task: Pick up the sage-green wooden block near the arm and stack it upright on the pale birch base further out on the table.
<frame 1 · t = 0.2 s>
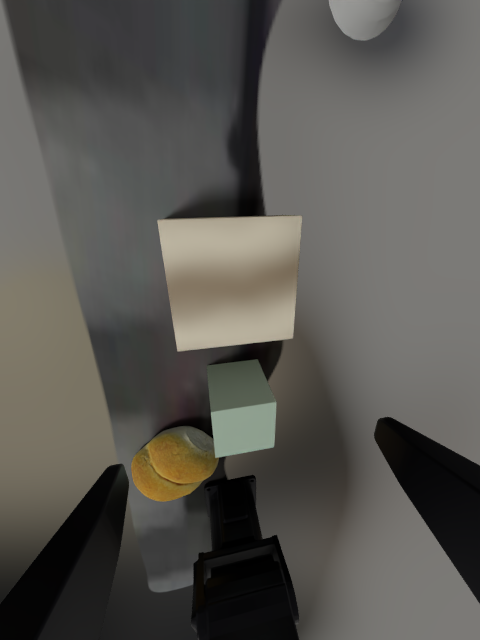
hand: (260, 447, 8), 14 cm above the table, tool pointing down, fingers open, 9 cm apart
green block: (233, 382, 24), on the table
bread roll: (177, 449, 27), on the table
birch base: (228, 276, 20), on the table
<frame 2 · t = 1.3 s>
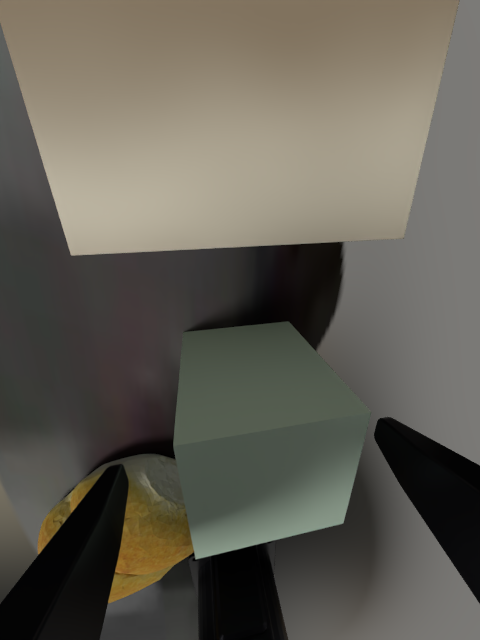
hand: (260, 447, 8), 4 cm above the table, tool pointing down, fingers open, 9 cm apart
green block: (239, 370, 12), on the table
bread roll: (138, 494, 15), on the table
birch base: (229, 89, 8), on the table
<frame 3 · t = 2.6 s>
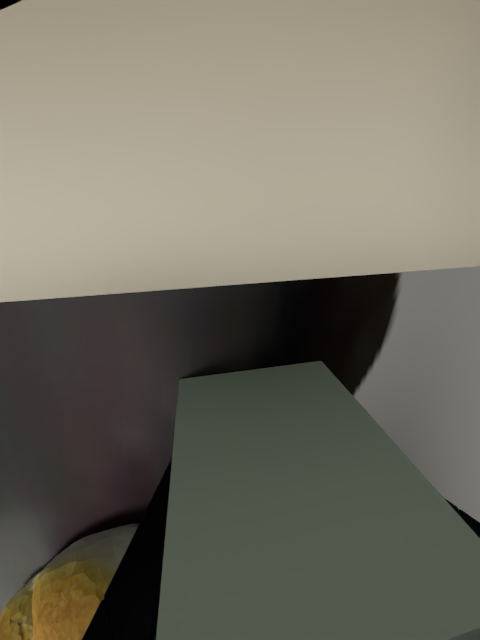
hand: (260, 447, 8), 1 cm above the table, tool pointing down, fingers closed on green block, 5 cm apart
green block: (253, 423, 9), on the table, touching gripper
bread roll: (125, 563, 12), on the table
birch base: (251, 18, 5), on the table
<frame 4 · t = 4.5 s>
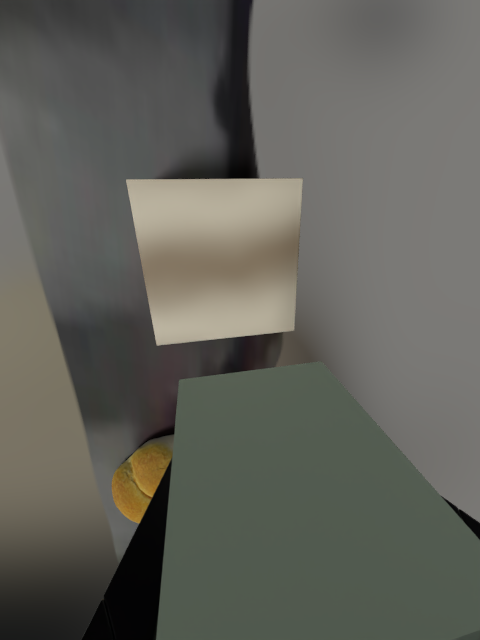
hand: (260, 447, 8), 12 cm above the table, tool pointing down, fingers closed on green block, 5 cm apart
green block: (253, 424, 9), point 11 cm above the table, touching gripper
bread roll: (166, 462, 24), on the table
birch base: (218, 259, 17), on the table
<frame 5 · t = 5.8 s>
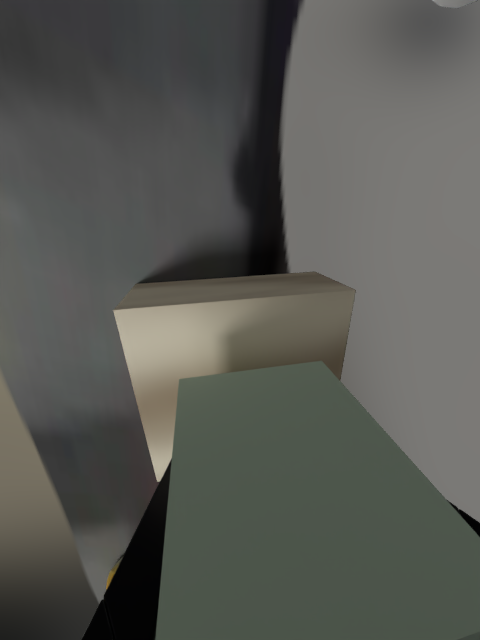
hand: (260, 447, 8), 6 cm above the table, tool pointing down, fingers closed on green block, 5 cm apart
green block: (253, 423, 9), point 5 cm above the table, touching gripper
birch base: (233, 354, 14), on the table
when the fingers open (6 cm above the table, at t = 6.5 s): green block drops 1 cm, resting on birch base.
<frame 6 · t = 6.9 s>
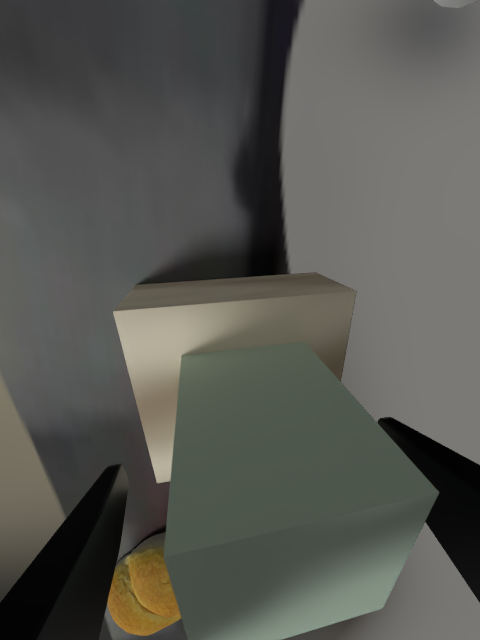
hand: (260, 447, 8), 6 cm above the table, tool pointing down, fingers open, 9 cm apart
green block: (246, 397, 11), point 3 cm above the table, touching birch base
bread roll: (169, 551, 21), on the table
birch base: (234, 355, 14), on the table
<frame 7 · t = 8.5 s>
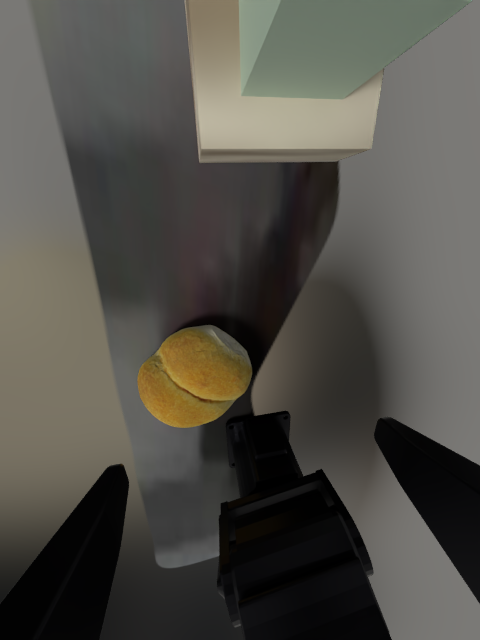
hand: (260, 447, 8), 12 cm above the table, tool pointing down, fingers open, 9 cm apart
green block: (296, 22, 10), point 3 cm above the table, touching birch base
bread roll: (196, 366, 21), on the table
birch base: (272, 66, 13), on the table
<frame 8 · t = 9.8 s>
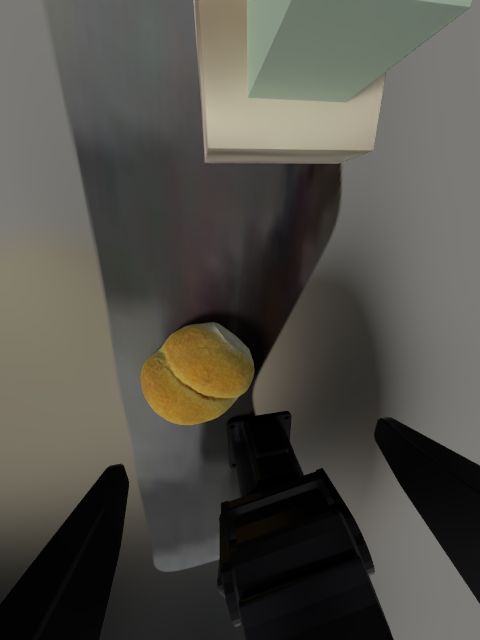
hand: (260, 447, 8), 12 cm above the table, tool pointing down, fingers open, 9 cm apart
green block: (301, 28, 11), point 3 cm above the table, touching birch base
bread roll: (199, 363, 21), on the table
birch base: (277, 71, 14), on the table
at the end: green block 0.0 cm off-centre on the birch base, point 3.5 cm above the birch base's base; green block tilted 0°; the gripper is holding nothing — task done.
